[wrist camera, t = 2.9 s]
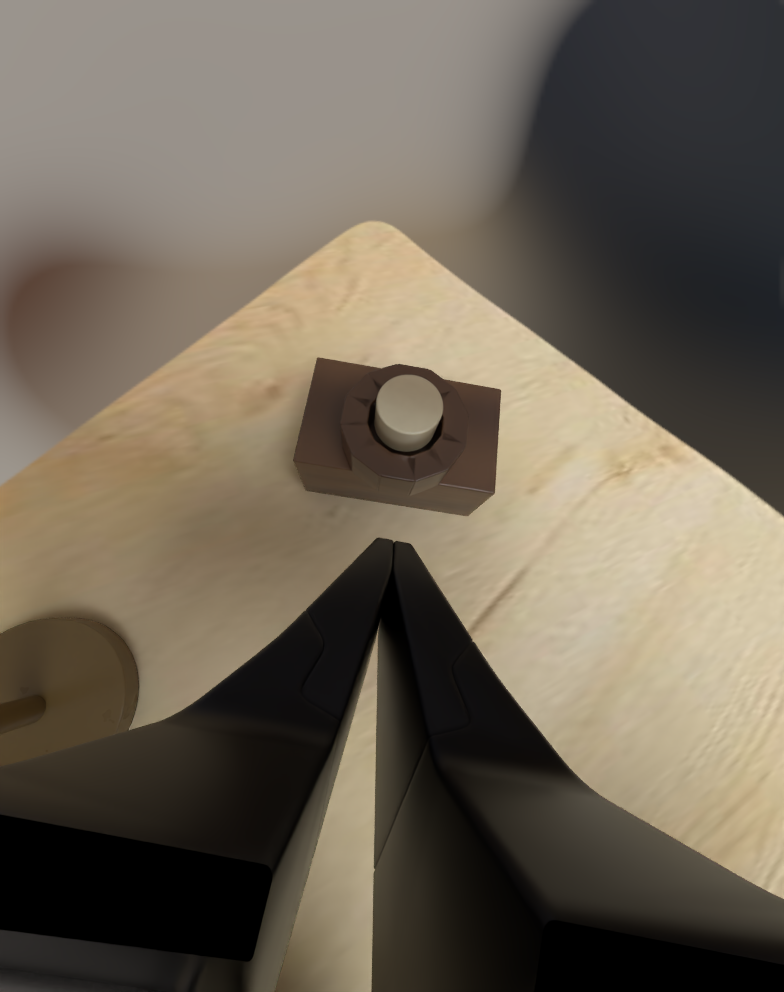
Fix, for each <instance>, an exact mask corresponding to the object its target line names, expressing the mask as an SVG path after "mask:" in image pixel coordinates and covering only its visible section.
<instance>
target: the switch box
mask: <svg viewBox="0 0 784 992" xmlns="http://www.w3.org/2000/svg"><path fill="white" fill-rule="evenodd" d="M400 375H416V376H419V377H422V378H424V379H426V380H428V381H429V382H431V383H432V384H433V385H434V386H435V387H436V388H437V390H438V391H439V393H440V395H441V397H442V401H443V414H442V417H441V419H440V421H439V424H438V426H437V428H436V431H435V433H434V435H433V437H432V439H431V440H430V442H429V443H428V444H427V445H425V446H424V447H422V448H421V449H418V450H415V451H410V452H403V451H398V450H395V449H392V448H390V447H389V446H387V445H386V444H385V443H383V442H382V441H381V439H380V438H379V437H378V435H377V433H376V430H375V426H374V419H375V409H376V399H377V395H378V392H379V390H380V389H381V387H382V386H383V385H384V384H385V383H386V382H387V381H389V380H390V379H392V378H394V377H397V376H400ZM500 400H501V390H500V389H495V388H490V387H484V386H478V385H473V384H467V383H461V382H455V381H450V380H444V379H442V378H441V377H439V376H438V375H437V374H435V373H434V372H433V371H431V370H428V369H424V368H419V367H413V366H407V365H402V364H398V365H397V364H395V365H392V366H388V367H385V368H382V369H381V368H376V367H370V366H364V365H358V364H353V363H347V362H341V361H336V360H330V359H324V358H317V360H316V365H315V369H314V373H313V378H312V382H311V386H310V390H309V395H308V399H307V403H306V407H305V412H304V416H303V420H302V425H301V429H300V433H299V437H298V442H297V446H296V450H295V454H294V459H293V461H294V464H295V466H296V468H297V471H298V473H299V475H300V478H301V480H302V482H303V485H304V487H305V490H307V491H313V492H319V493H325V494H331V495H338V496H344V497H350V498H357V499H363V500H369V501H375V502H382V503H388V504H394V505H400V506H407V507H413V508H419V509H426V510H432V511H438V512H444V513H451V514H457V515H463V516H468V515H470V514H471V513H472V512H473V511H474V510H476V509H477V508H478V507H479V506H480V505H482V504H483V503H484V502H485V501H486V500H487V499H489V498H490V497H491V496H492V495H493V494H494V493H495V480H496V464H497V448H498V432H499V416H500Z"/></svg>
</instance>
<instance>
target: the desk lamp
mask: <svg viewBox="0 0 784 992" xmlns="http://www.w3.org/2000/svg"><path fill="white" fill-rule="evenodd" d="M138 688H139V687H138V674H137V668H136V665H135V662H134V659H133V656H132V654H131V652H130V650H129V648H128V647H127V645H126V644H125V643H124V641H123V640H122V639H121V638H120V637H119V636H118V635H117V634H116V633H115V632H113V631H112V630H111V629H109V628H108V627H106V626H104V625H102V624H100V623H97V622H94V621H91V620H87V619H81V618H49V619H40V620H35V621H30V622H27V623H24V624H21V625H18V626H16V627H13V628H11V629H9V630H7V631H5V632H3V633H1V634H0V766H4V765H8V764H12V763H16V762H20V761H24V760H28V759H31V758H35V757H38V756H42V755H45V754H49V753H52V752H56V751H59V750H62V749H66V748H69V747H73V746H76V745H80V744H83V743H87V742H90V741H94V740H97V739H101V738H104V737H108V736H111V735H114V734H118V733H121V732H125V731H128V729H129V726H130V724H131V722H132V719H133V716H134V713H135V709H136V704H137V700H138Z"/></svg>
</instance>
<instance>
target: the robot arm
mask: <svg viewBox="0 0 784 992" xmlns="http://www.w3.org/2000/svg"><path fill="white" fill-rule="evenodd" d="M378 627H379V631H378ZM377 631H378V670H377V725H376V779H375V834H374V869H375V871H374V884H373V940H372V992H784V899H782V898H780V897H778V896H776V895H774V894H772V893H770V892H768V891H766V890H764V889H762V888H760V887H758V886H756V885H755V884H753V883H751V882H749V881H747V880H745V879H744V878H742V877H740V876H738V875H737V874H735V873H733V872H731V871H730V870H728V869H726V868H724V867H723V866H721V865H719V864H718V863H716V862H714V861H712V860H711V859H709V858H707V857H705V856H704V855H702V854H700V853H698V852H697V851H695V850H693V849H692V848H690V847H688V846H686V845H685V844H683V843H681V842H679V841H678V840H676V839H674V838H672V837H671V836H669V835H667V834H666V833H664V832H662V831H660V830H659V829H657V828H655V827H653V826H652V825H650V824H648V823H646V822H645V821H643V820H641V819H640V818H638V817H636V816H634V815H633V814H631V813H629V812H627V811H626V810H624V809H622V808H620V807H619V806H617V805H615V804H614V803H612V802H610V801H608V800H607V799H605V798H604V797H602V796H600V795H599V794H598V793H596V792H595V791H594V790H592V789H591V788H590V787H589V786H588V785H586V784H585V783H584V782H583V781H582V780H581V779H580V778H579V777H578V776H577V775H576V774H575V773H574V772H573V771H572V770H571V769H570V768H569V767H568V765H567V764H566V763H565V762H564V761H563V760H562V758H561V757H560V756H559V755H558V753H557V752H556V751H555V750H554V748H553V747H552V746H551V745H550V743H549V742H548V741H547V740H546V738H545V737H544V736H543V734H542V733H541V732H540V731H539V729H538V728H537V727H536V726H535V724H534V723H533V722H532V721H531V719H530V718H529V717H528V716H527V714H526V713H525V712H524V711H523V709H522V708H521V707H520V706H519V704H518V703H517V702H516V700H515V699H514V698H513V697H512V695H511V694H510V693H509V691H508V690H507V689H506V687H505V686H504V685H503V683H502V682H501V681H500V679H499V678H498V677H497V675H496V674H495V672H494V671H493V670H492V668H491V667H490V665H489V664H488V662H487V661H486V659H485V658H484V656H483V655H482V653H481V652H480V650H479V649H478V647H477V646H476V644H475V643H474V642H472V638H471V636H470V635H469V633H468V632H467V630H466V629H465V627H464V626H463V624H462V622H461V621H460V619H459V618H458V616H457V615H456V613H455V612H454V610H453V608H452V607H451V605H450V604H449V602H448V601H447V599H446V598H445V596H444V594H443V593H442V591H441V590H440V588H439V587H438V585H437V584H436V582H435V580H434V579H433V577H432V576H431V574H430V573H429V571H428V570H427V568H426V566H425V565H424V563H423V562H422V560H421V559H420V557H419V556H418V554H417V552H416V551H415V549H414V548H413V546H412V545H411V544H409V543H404V542H399V541H396V542H393V541H392V540H389V539H383V538H377V539H375V540H374V541H373V542H372V543H371V544H370V545H369V546H368V547H367V548H366V550H365V551H364V552H363V553H362V554H361V555H360V556H359V557H358V558H357V559H356V560H355V561H354V562H353V563H352V564H351V565H350V566H349V567H348V568H347V569H346V570H345V571H344V572H343V573H342V574H341V575H340V576H339V577H338V578H337V579H336V580H335V581H334V582H333V583H332V584H331V585H330V586H329V587H328V588H327V589H326V590H325V591H324V592H323V593H322V594H321V595H320V596H319V597H318V598H317V599H316V600H315V601H314V602H313V603H312V604H311V605H310V606H309V607H308V608H307V609H306V611H304V612H303V613H302V614H301V615H300V616H299V617H298V618H297V619H296V620H295V621H294V622H293V623H292V624H291V625H290V626H289V627H288V628H287V629H286V630H284V631H283V632H282V633H281V634H280V635H279V636H278V637H277V638H276V639H275V640H273V641H272V642H271V643H270V644H268V645H267V646H266V647H265V648H264V649H262V650H261V651H260V652H259V653H257V654H256V655H255V656H254V657H252V658H251V659H250V660H249V661H247V662H246V663H245V664H243V665H242V666H241V667H240V668H238V669H237V670H236V671H234V672H233V673H232V674H231V675H229V676H228V677H227V678H225V679H224V680H223V681H221V682H220V683H219V684H218V685H216V686H215V687H214V688H212V689H211V690H210V691H209V692H207V693H206V694H205V695H203V696H202V697H201V698H200V699H198V700H197V701H195V702H194V703H193V704H191V705H190V706H188V707H186V708H185V709H183V710H182V711H180V712H178V713H176V714H174V715H172V716H171V717H168V718H166V719H164V720H162V721H159V722H156V723H153V724H149V725H146V726H142V727H139V728H135V729H132V730H128V731H125V732H121V733H118V734H114V735H111V736H108V737H104V738H101V739H97V740H94V741H90V742H87V743H83V744H80V745H76V746H73V747H69V748H66V749H62V750H59V751H56V752H52V753H49V754H45V755H42V756H38V757H35V758H31V759H28V760H24V761H20V762H16V763H12V764H8V765H4V766H0V992H275V989H276V985H277V982H278V978H279V975H280V971H281V968H282V964H283V961H284V957H285V954H286V950H287V947H288V943H289V940H290V936H291V933H292V929H293V926H294V922H295V919H296V915H297V912H298V908H299V905H300V901H301V898H302V894H303V891H304V887H305V884H306V880H307V877H308V873H309V870H310V866H311V863H312V858H313V856H314V852H315V849H316V845H317V842H318V838H319V835H320V831H321V828H322V824H323V821H324V817H325V814H326V810H327V807H328V803H329V800H330V796H331V793H332V789H333V786H334V782H335V779H336V776H337V772H338V769H339V765H340V762H341V758H342V755H343V751H344V748H345V744H346V741H347V737H348V734H349V730H350V727H351V723H352V720H353V716H354V713H355V709H356V706H357V702H358V699H359V695H360V692H361V688H362V685H363V681H364V678H365V674H366V671H367V667H368V664H369V660H370V657H371V653H372V650H373V646H374V643H375V639H376V635H377Z"/></svg>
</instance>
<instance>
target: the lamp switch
mask: <svg viewBox="0 0 784 992" xmlns="http://www.w3.org/2000/svg"><path fill="white" fill-rule="evenodd" d="M442 414H443V401H442V397H441V395H440V393H439V391H438V390H437V388H436V387H435V386H434V385H433V384H432V383H431V382H429V381H428V380H426V379H424V378H422V377H419V376H416V375H400V376H397V377H394V378H392V379H390V380H389V381H387V382H386V383H385V384H384V385H383V386H382V387H381V389H380V390H379V392H378V395H377V399H376V409H375V419H374V426H375V430H376V433H377V435H378V437H379V438H380V439H381V441H382V442H383V443H385V444H386V445H387V446H389V447H390V448H392V449H395V450H398V451H403V452H410V451H415V450H418V449H421V448H422V447H424V446H425V445H427V444H428V443H429V442H430V440H431V439H432V437H433V435H434V433H435V431H436V428H437V426H438V424H439V421H440V419H441V417H442Z"/></svg>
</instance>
